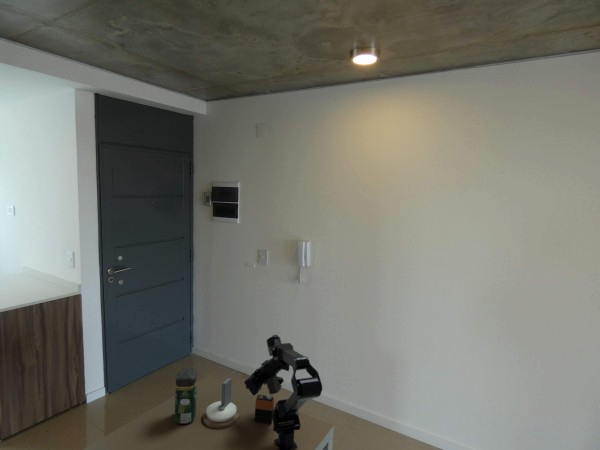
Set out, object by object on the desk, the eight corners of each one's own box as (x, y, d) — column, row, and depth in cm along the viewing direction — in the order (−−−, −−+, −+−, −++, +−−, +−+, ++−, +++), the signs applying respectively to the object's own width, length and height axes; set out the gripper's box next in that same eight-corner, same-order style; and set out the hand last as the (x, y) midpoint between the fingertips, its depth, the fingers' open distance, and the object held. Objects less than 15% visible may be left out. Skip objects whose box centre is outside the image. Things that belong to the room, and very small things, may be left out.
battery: (271, 424, 137) (272, 399, 136) (254, 422, 138) (255, 397, 137) (273, 418, 141) (274, 394, 141) (256, 416, 142) (258, 392, 141)
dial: (239, 417, 137) (241, 389, 136) (209, 425, 132) (211, 395, 131) (231, 402, 147) (232, 375, 146) (203, 408, 142) (204, 380, 141)
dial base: (243, 423, 137) (243, 419, 136) (207, 432, 130) (207, 427, 130) (233, 404, 149) (233, 400, 149) (199, 411, 143) (199, 407, 142)
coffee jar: (176, 410, 142) (178, 366, 141) (196, 409, 143) (198, 365, 142) (172, 426, 133) (173, 378, 131) (193, 424, 134) (195, 377, 133)
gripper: (277, 395, 127) (248, 417, 131) (294, 372, 144) (268, 393, 148) (258, 370, 129) (230, 392, 133) (277, 350, 146) (252, 371, 150)
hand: (246, 387), depth 141 cm, fingers closed
